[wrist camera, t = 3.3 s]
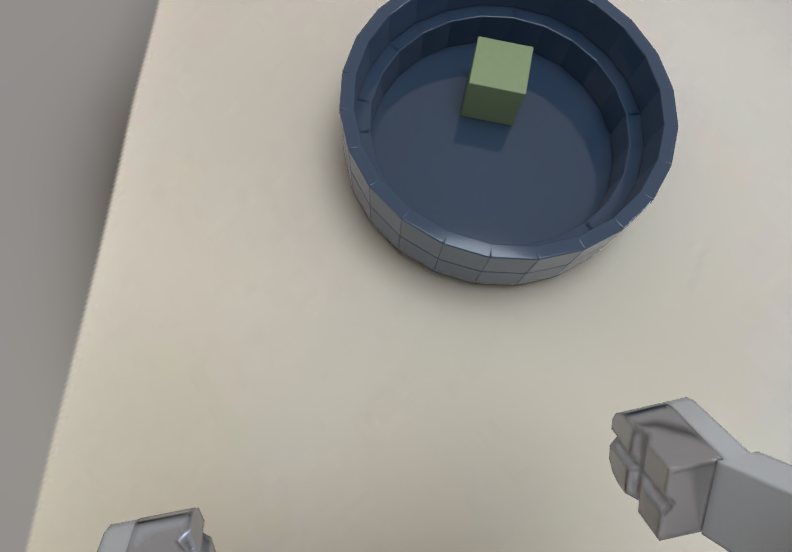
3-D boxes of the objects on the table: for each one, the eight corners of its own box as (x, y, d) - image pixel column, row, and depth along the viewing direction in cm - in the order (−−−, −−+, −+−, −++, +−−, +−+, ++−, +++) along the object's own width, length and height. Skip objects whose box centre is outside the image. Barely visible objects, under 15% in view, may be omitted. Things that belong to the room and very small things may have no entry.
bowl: (288, 189, 30) (272, 142, 25) (439, -9, 34) (449, -82, 29) (550, 347, 28) (586, 328, 23) (675, 115, 32) (728, 58, 27)
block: (460, 116, 31) (468, 82, 28) (469, 72, 31) (478, 35, 29) (512, 126, 31) (526, 94, 28) (519, 82, 31) (533, 46, 29)
